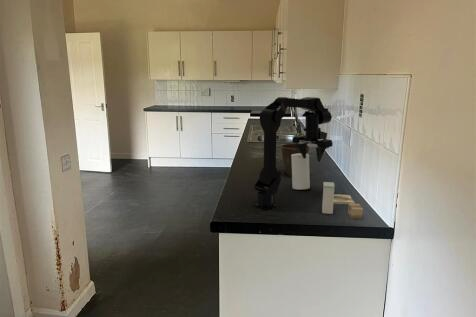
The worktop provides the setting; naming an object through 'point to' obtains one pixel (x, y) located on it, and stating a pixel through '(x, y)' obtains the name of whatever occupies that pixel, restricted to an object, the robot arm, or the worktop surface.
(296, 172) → the cup
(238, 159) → the worktop surface
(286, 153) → the plant pot
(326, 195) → the tea caddy
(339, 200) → the trivet
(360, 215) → the oak block
